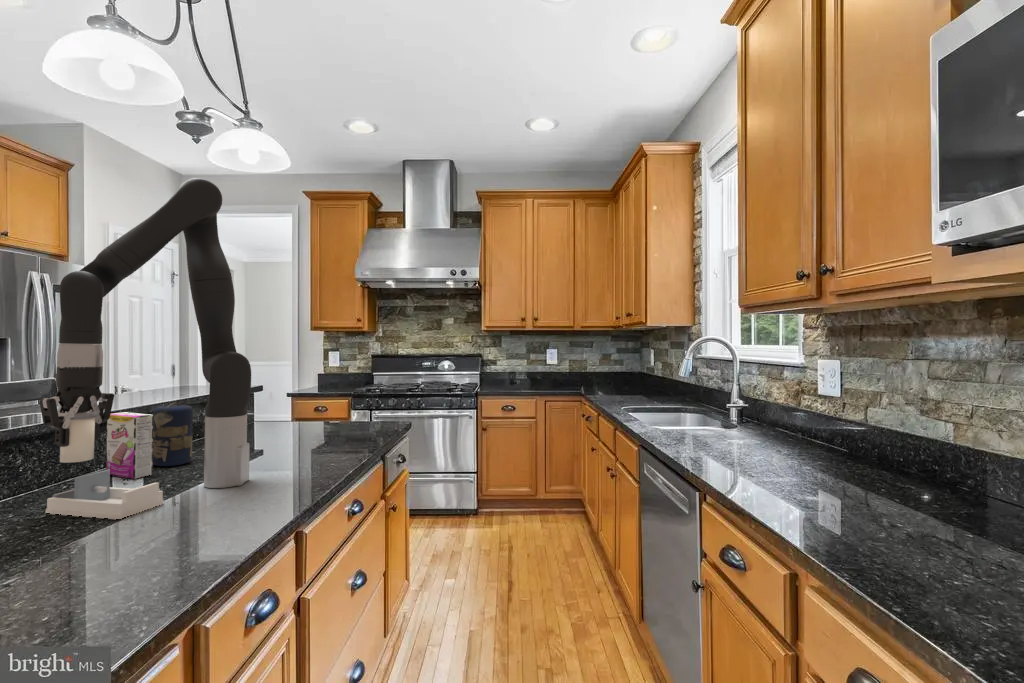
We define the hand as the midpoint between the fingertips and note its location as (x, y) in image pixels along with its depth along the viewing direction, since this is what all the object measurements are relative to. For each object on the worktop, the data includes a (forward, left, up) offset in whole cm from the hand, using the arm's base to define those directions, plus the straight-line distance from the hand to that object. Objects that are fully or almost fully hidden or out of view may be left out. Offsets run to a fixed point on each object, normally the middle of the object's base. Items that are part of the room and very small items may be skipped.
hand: (77, 443), depth 106 cm
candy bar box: (+4, -27, -14) cm, 30 cm away
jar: (0, 0, -3) cm, 3 cm away
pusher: (-5, +2, -12) cm, 13 cm away
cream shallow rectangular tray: (-7, +2, -14) cm, 15 cm away
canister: (-1, -39, -14) cm, 41 cm away
